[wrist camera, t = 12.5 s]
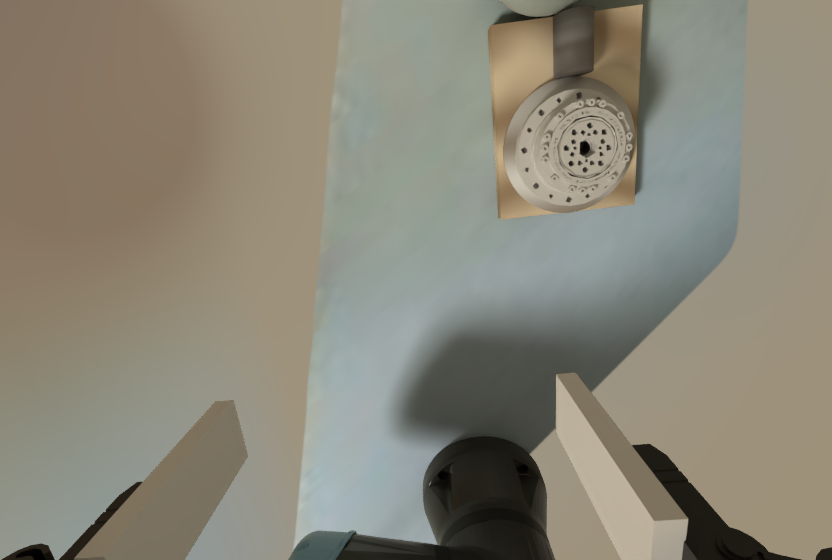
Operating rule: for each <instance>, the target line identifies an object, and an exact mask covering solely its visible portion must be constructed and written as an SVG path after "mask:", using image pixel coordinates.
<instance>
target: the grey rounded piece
mask: <svg viewBox="0 0 832 560" xmlns="http://www.w3.org/2000/svg"><path fill="white" fill-rule="evenodd" d="M579 1H580V0H499V2H501V3H502V4H503V5H504V6H506V7H507V8H508V9H510V10H512V11H514V12H516V13H519V14H522V15H526V16H533V17H542V16H550V15H553V14H557V13H560V12H562V11H564V10H566V9H568V8H570V7H572V6H573V5H575V4H576V3H577V2H579Z"/></svg>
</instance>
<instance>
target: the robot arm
mask: <svg viewBox="0 0 832 560" xmlns="http://www.w3.org/2000/svg"><path fill="white" fill-rule="evenodd" d="M556 434H557V436H558V438H559V440H560V442H561V443H562V446H563V447H564V449H565V451H566V453H567V455H568V457H569V459H570V461H571V463H572V465H573V467H574V469H575V471H576V473H577V475H578V477H579V479H580V480H581V482H582V484H583V486H584V488H585V490H586V492H587V494H588V496H589V498H590V500H591V502H592V504H593V506H594V508H595V510H596V512H597V513H598V515H599V517H600V519H601V521H602V523H603V525H604V527H605V529H606V530H607V533H608V535H609V536H610V539H611V541H612V543H613V544H614V546H615V548H616V550H617V552H618V554H619V556H620V558H621V560H801V559H796V558H791V557H787V556H782V555H778V554H774V553H771V552H768V551H767V549H766V548H765V547H764V546H763V545H761V544H760V543H759V542H758V541H757V540H755V539H754V538H753V537H751V536H749V535H747V534H745V533H743V532H741V531H740V530H737V529H734V528H730V527H728V525H727V524H726V523H725V522H724V521H723V520H722V519H721V517H720V516H719V515H718V514H717V513H716V512H715V511H714V509H713V508H712V507H711V506H710V505H709V504H708V502H707V501H706V500H705V499H704V498H703V497H702V496H701V494H700V493H699V492H698V491H697V490H696V489H695V488H694V486H693V485H692V484H691V483H689V482H688V479H687V478H686V477H685V476H684V475H683V474H682V472H680V471H679V470H678V468H677V467H676V466H675V464H674V463H673V462H672V461H671V460H670V459H669V458H668V456H667V455H666V454H664V453H663V452H661V451H659V450H658V449H657V448H655V447H653V446H652V445H650V444H643V445H631V444H630V443H629V442H628V440H627V439H626V437H625V436H624V435H623V434H622V432H621V431H620V430H619V428H618V427H617V426H616V424H615V423H614V422H613V421H612V419H611V418H610V417H609V415H608V414H607V413H606V411H605V410H604V409H603V408H602V406H601V405H600V404H599V402H598V401H597V400H596V398H595V397H594V396H593V395H592V393H591V392H590V391H589V389H588V388H587V387H586V385H585V384H584V383H583V382H582V380H581V379H580V378H579V376H578V375H577V374H576V373H564V374H556ZM247 457H248V454H247V450H246V446H245V442H244V439H243V435H242V431H241V427H240V423H239V419H238V416H237V412H236V408H235V404H234V401H233V400H229V401H217V402H215V403H214V404H213V405H212V406H211V407H210V408H209V409H208V410H207V411H206V413H205V414H204V415H203V416H202V417H201V418H200V419H199V420H198V421H197V423H196V424H195V425H194V426H193V427H192V428H191V429H190V430H189V432H187V434H186V435H185V436H184V437H183V438H182V439H181V440H180V442H179V443H178V444H177V445H176V446H175V447H174V448H173V449H172V450H171V451H170V453H169V454H168V455H167V456H166V457H165V458H164V459H163V460H162V461H161V462H160V464H159V465H158V466H157V467H156V468H155V469H154V470H153V471H152V472H151V474H150V475H149V476H148V477H147V478H146V479H145V480H144V481H143V482H137V483H135V484H134V485H133V486H131V487H130V488H129V489H127V490H126V491H125V492H123V493H122V494H120V495H119V496H118V497H117V498H116V499H115V500H114V502H113V503H112V504H111V505H110V506H109V507H108V508H107V509H106V512H103V513H102V514H101V515H100V517H99V518H98V519H97V520H96V521H95V524H94V525H91V526H90V527H89V528H88V529H87V530H86V532H85V533H84V534H83V535H82V536H81V537H80V538H79V539H78V540H77V541H76V542H75V543H74V544H73V545H72V547H71V548H70V549H69V550H68V551H67V552H66V553H65V554H64V555H63V556H62V557H61V558H60V559H59V560H185V558H186V557H187V555H188V553H189V552H190V550H191V548H192V547H193V545H194V543H195V542H196V540H197V539H198V537H199V535H200V534H201V532H202V530H203V528H204V527H205V526H206V524H207V522H208V521H209V519H210V517H211V516H212V514H213V512H214V511H215V509H216V508H217V506H218V504H219V503H220V501H221V499H222V498H223V496H224V495H225V493H226V491H227V490H228V488H229V486H230V485H231V483H232V481H233V480H234V478H235V476H236V475H237V473H238V471H239V470H240V468H241V467H242V465H243V464H244V462H245V460H246V459H247ZM423 503H424V509H425V513H426V516H427V518H428V521H429V523H430V526H431V528H432V531H433V533H434V536H435V539H436V541H437V544H438V545H433V544H428V543H420V542H412V541H404V540H396V539H388V538H380V537H373V536H366V535H359V534H356V531H350V532H334V531H315V532H312V533H310V534H308V535H307V536H305V537H304V538H303V539H302V540H301V541H300V542H299V544H298V545H297V546H296V548H295V549H294V551H293V552H292V554H291V556H290V558H289V560H555V558H554V555H553V552H552V549H551V547H550V544H549V541H548V538H547V535H546V525H547V524H546V523H547V514H546V513H547V495H546V488H545V484H544V481H543V478H542V476H541V473H540V470H539V468H538V466H537V464H536V462H535V461H534V460H533V458H532V457H531V456H530V455H529V454H528V453H527V452H526V451H525V450H523V449H522V448H521V447H519V446H517V445H515V444H513V443H511V442H509V441H506V440H502V439H498V438H490V437H479V438H471V439H467V440H463V441H460V442H457V443H455V444H453V445H451V446H449V447H447V448H446V449H444V450H443V451H442V452H440V453H439V454H438V455H437V456H436V457H435V458H434V460H433V461H432V462H431V463H430V465H429V467H428V469H427V471H426V473H425V477H424V481H423ZM2 560H55V559H54V557H53V555H52V553H51V551H50V549H49V546H48V545H44V544H37V545H30V546H28V547H25V548H23V549H20V550H18V551H16V552H14V553H12V554H10V555H9V556H7V557H5V558H3V559H2ZM816 560H832V548H826V549H822V550H821V551H820V552H819V553H818V555H817V556H816Z"/></svg>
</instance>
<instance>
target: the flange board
mask: <svg viewBox="0 0 832 560" xmlns="http://www.w3.org/2000/svg"><path fill="white" fill-rule="evenodd" d="M642 9H643V4H641V5H634V6H627V7H619V8H612V9H605V10H598V11H594V7H592V6H579V7H574V8H570V9H567V10H565V11H562V12H560V13H558V14H556V15H555V16H554V17H547V18H539V19H532V20H525V21H517V22H510V23H503V24H496V25H491V26H490V28H489V30H488V40H489V58H490V76H491V94H492V112H493V130H494V147H495V165H496V183H497V201H498V218H500V219H509V218H518V217H527V216H535V215H544V214H553V213H570V212H575V211H580V210H588V209H597V208H606V207H615V206H624V205H632V204H634V203H635V179H636V154H637V130H638V106H639V82H640V58H641V34H642ZM572 89H591V90H594V91H597V92H601V93H603V94H604V95H606V96H608V97H610V98H611V99H612V100H613V101H614V102H615V103H616V104H617V105H618V106H619V107H620V109H621V110H622V112H624V115H625V117H626V120H627V122H628V125H629V128H630V132H631V133H632V134H633V137H632V138H631V144H632V146H633V147H632V150H630V155H629V157H630V159H629V161H628V162H626V165H625V168H624V170H623V171H622V173H621V174H620V176H619V177H618V179H617V181H616V182H615V183H614V184H613V185H612V186H611V187H610V188H609V189H608V190H607V191H605V192H604V193H603V194H602V195H601V196H599V197H597V198H595V199H593V200H591V201H589V202H587V203H585V204H579V205H573V206H563V205H556V204H551V203H549V202H546V201H544V200H541V199H540V198H538V197H537V196H535V195H534V194H533V193H532V192H531V191H530V190H529V189H528V188H527V187H526V186H525V185H524V184H523V181H522V179H521V177H520V175H519V173H518V170H517V164H516V159H515V154H516V143H517V138H518V136H519V133H520V130H521V128H522V125H523V124H524V122H525V120H526V119H527V117H528V116H529V115H530V114H531V113H532V112H533V111H534V110H535V109H536V108H537V107H538V105H539V104H540V103H542V102H544V101H545V100H547V99H548V98H550V97H552V96H554V95H556V94H559V93H561V92H563V91H567V90H572ZM576 96H577V95H576ZM577 98H578V97H577ZM556 101H557V100H556ZM557 102H558V101H557ZM538 113H539V116H541V112H540V111H539V112H538ZM527 132H529V130H528V129H527ZM580 143H581V144H583V143H582V142H580ZM583 148H588V147H587V142H585V143H584V144H583ZM521 151H522V152H523V153H524V148H522V149H521ZM581 152H582V148H581ZM585 153H587V152H582V154H585ZM582 154H581V155H582ZM568 164H569V163H568ZM526 169H527V168H525V171H526ZM570 176H571V175H570ZM535 186H536V184H534V185H533V187H534V188H535ZM549 196H550V195H549ZM567 200H568V198H567ZM567 200H566V201H567Z"/></svg>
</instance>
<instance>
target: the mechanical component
mask: <svg viewBox="0 0 832 560" xmlns="http://www.w3.org/2000/svg"><path fill="white" fill-rule="evenodd" d="M576 95H577V96H576ZM577 97H578V98H577ZM556 100H557V101H558V102H557V101H556ZM539 111H540V112H541V116H539V113H538V112H539ZM527 129H528V130H529V132H527ZM632 137H633V134H632V133H631V132H630V128H629V125H628V122H627V120H626V117H625V115H624V112H622V110H621V109H620V107H619V106H618V105H617V104H616V103H615V102H614V101H613V100H612V99H611V98H610V97H608V96H606V95H604V94H603V93H601V92H597V91H594V90H591V89H572V90H567V91H563V92H561V93H559V94H556V95H554V96H552V97H550V98H548V99H547V100H545V101H544V102H542V103H540V104H539V105H538V107H537V108H536V109H535V110H534V111H533V112H532V113H531V114H530V115H529V116H528V117H527V119H526V120H525V122H524V124H523V125H522V128H521V130H520V133H519V136H518V138H517V143H516V154H515V159H516V164H517V170H518V173H519V175H520V177H521V179H522V181H523V184H524V185H525V186H526V187H527V188H528V189H529V190H530V191H531V192H532V193H533V194H534V195H535V196H537V197H538V198H540V199H541V200H544V201H546V202H549V203H551V204H556V205H563V206H573V205H579V204H585V203H587V202H589V201H591V200H593V199H595V198H597V197H599V196H601V195H602V194H603V193H604V192H605V191H607V190H608V189H609V188H610V187H611V186H612V185H613V184H614V183H615V182H616V181H617V179H618V177H619V176H620V174H621V173H622V171H623V170H624V168H625V165H626V162H628V161H629V159H630V157H629V155H630V150H632V147H633V146H632V144H631V138H632ZM580 142H582V143H583V144H584V143H585V142H587V147H588V148H583V144H581V143H580ZM522 148H524V153H523V152H522V151H521V149H522ZM581 148H582V152H587V153H585V154H582V152H581ZM581 154H582V155H581ZM568 163H569V164H568ZM525 168H527V169H526V171H525ZM570 175H571V176H570ZM534 184H536V186H535V188H534V187H533V185H534ZM549 195H550V196H549ZM567 198H568V200H567ZM566 200H567V201H566Z"/></svg>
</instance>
